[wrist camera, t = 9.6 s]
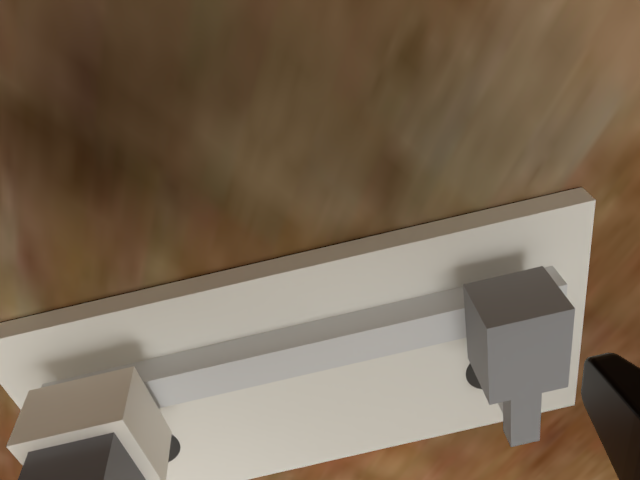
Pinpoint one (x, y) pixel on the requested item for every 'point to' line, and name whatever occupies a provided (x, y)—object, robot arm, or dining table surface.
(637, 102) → the dining table surface
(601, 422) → the robot arm
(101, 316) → the plate
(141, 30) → the dining table surface
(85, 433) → the block
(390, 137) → the dining table surface
